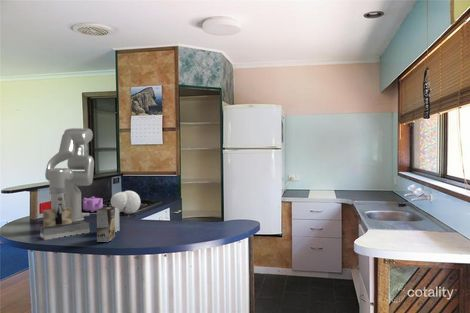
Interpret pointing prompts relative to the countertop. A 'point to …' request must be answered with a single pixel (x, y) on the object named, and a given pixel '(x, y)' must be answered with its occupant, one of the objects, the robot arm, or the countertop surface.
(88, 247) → the countertop surface
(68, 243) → the countertop surface
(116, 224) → the supplement box
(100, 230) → the coffee box
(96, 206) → the purple lumpy block
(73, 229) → the door track
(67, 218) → the door panel
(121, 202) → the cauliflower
